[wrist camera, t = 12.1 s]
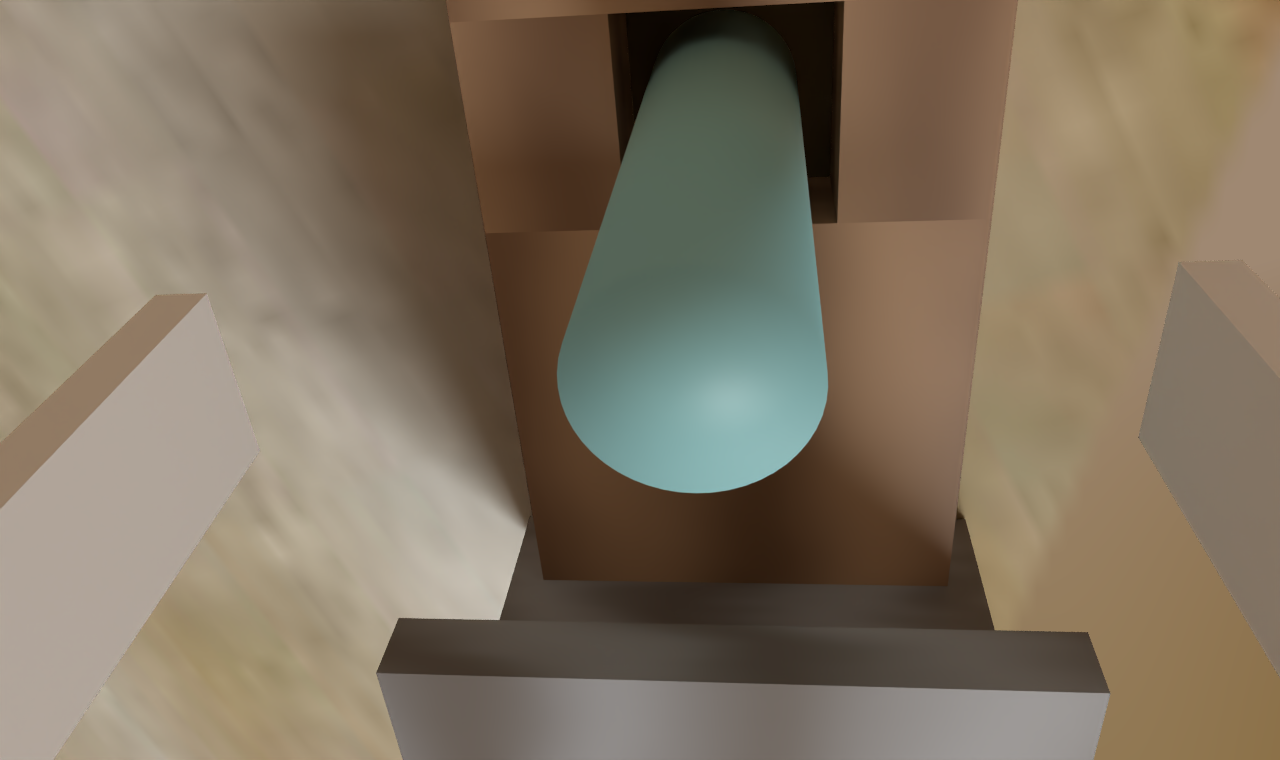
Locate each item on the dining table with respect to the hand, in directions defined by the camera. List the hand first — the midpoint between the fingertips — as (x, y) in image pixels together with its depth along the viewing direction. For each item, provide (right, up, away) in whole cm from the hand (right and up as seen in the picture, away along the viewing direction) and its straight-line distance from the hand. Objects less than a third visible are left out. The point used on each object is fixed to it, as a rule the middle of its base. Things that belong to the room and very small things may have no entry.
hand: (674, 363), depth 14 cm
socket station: (+2, +4, +13) cm, 14 cm away
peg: (+2, +7, +11) cm, 13 cm away
